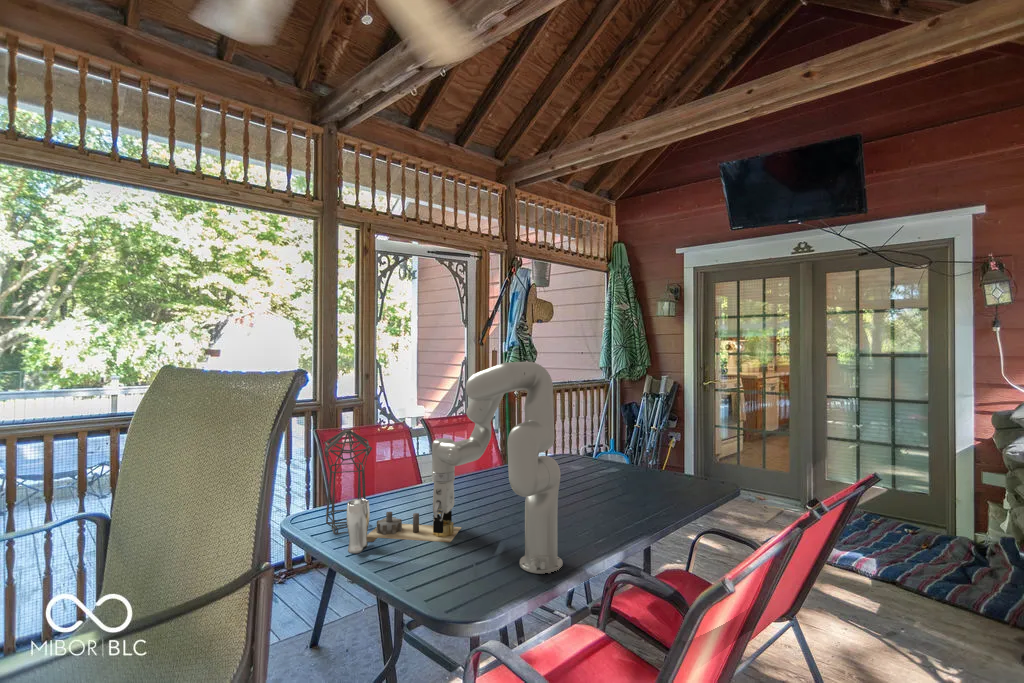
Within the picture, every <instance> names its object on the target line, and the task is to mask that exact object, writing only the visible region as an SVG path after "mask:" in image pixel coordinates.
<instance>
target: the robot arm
mask: <svg viewBox="0 0 1024 683" xmlns="http://www.w3.org/2000/svg"><path fill="white" fill-rule="evenodd" d="M553 385H554V384H553V379H552V376H551V375H550V372H549V371H548V370H547V369H546V368H545V367H543V366H542V365H541V364H539V363H536V362H534V361H514V362H511V361H509V362H503V363H499V364H496V365H494V366H491V367H489V368H486V369H485V368H484V369H483V370H479V371H478V372H475V373H473V374H472V375H471V376H469V378H468V379H467V381H466V383H465V392H466V396H468V398H469V399H470V400H471V401H470V402H469V404H468V407H467V409H466V411H465V412H466V417H467V418H468V419H469V420H470V421H471V422H473V423H474V428H473V430H472V431H471V434H470V436H469V438H467V439H462V440H458V441H454V440H453V438H452V439H451V438H447V437H445V438H444V437H441V438H435V439H434V440H433V441H432V444H431V445H432V446H431V451H432V452H431V454H432V456H431V482H432V483H433V493H432V512H433V515H432V517H433V519H432V520H433V522H432V526H433V532H434V533H443V520H451V522H453V521H452V520H453V519H452V517H453V514H452V512H453V508H454V506H455V484H454V482H455V474H456V472H455V470H456V469H455V468H456V467H458V466H462V465H465V464H469V463H472V462H475V461H478V460H479V459H480V458H481V457H482V456H483V455H484V453H485V452H486V449H487V447H488V446H489V444H490V441H491V438H492V424H491V423H492V420H493V418H494V416H495V414H496V411H497V409H498V407H499V406H500V404H501V401H502V399H503V397H504V395H505V394H506V393H512V392H517V391H518V392H519V391H527V394H526V397H525V401H524V405H523V407H524V408H523V409H524V422H520V423H518V424H516V425H514V426H513V428H512V429H511V430H510V432H509V434H508V436H507V437H508V438H507V470H508V480H509V484H510V487H511V489H512V491H513V492H514V493H515V494H516V495H517V496H519V497H521V498H522V497H523V498H525V500H524V555H523V556H522V557H520V559H519V566H520V568H521V569H522V570H524V571H525V572H528V573H531V574H537V575H539V574H540V575H543V574H544V575H546V574H545V573H548V574H552V573H551V572H554V571H556V572H558V571H560V570H561V569H562V568H563V567H562V566H564V563H563V559H562V558H560V557H559V556H558V511H559V510H558V508H559V507H558V504H559V503H558V502H559V490H560V485H561V484H560V483H561V469H560V465H559V464H558V462H557V461H556V460H555V459H554V458H553V457H551V456H549V455H539V454H541V453H544V452H546V451H548V450H550V449H551V448H553V445H554V442H555V418H554V386H553ZM561 567H562V568H561ZM560 568H561V569H560ZM559 569H560V570H559ZM557 570H558V571H557ZM554 573H555V572H554Z"/></svg>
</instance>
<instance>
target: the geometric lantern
mask: <svg viewBox="0 0 1024 683" xmlns="http://www.w3.org/2000/svg"><path fill="white" fill-rule="evenodd" d="M344 436H345V438H344V440H343V442H341V439H342V438H343V437H344ZM353 437H354V439H356V440H355V441H353ZM347 438H348V440H347ZM356 443H358V444H357V445H355V447H353V445H354V444H356ZM322 444H324V446H325V447H324V449H323V450H324V457H325V458H326V462H327V465H328V470H329V477H328V479H329V480H328V491H327V501H326V502H327V503H326V512H325V523H326V525H328V526H329V527H330V528H331V529H332V534H334V535H340V534H341V535H342V534H349V532H348V531H342V532H341V531H340V532H339V529H344V528H345V529H346V528H347V529H348V527H347V517H346V518H340V519H335V513H337V512H339V513H340V512H347V508H346V509H335V505H336V504H335V503H336V502H335V500H336V498H335V496H336V494H335V493H336V478H337V477H336V475H337V474H338V473H339V474H342V473H358V475H357V477H358V478H357V499H366V476H365V474H366V472H365V471H366V470H365V468H366V465H367V460H368V456H369V455H370V453H371V451H372V450H373V447H372V446H371V445H370V443H369V440H368V439H366V438H365V437H364V436H361V435H359V434H357V433H355V432H354V431H352V430H351V429H344V430H342V431H340V432H338V433H337V434H336V435H333V436H332V437H330V438H329V439H327V440H325V441H324V442H322ZM337 444H339V445H342V447H340V446H338V445H337ZM346 444H348V445H349V449H345V446H346ZM360 445H362V446H363V447H365V448H362V449H357V448H358V447H359V446H360ZM334 447H336V448H337V449H333V448H334ZM355 449H356V450H355ZM356 452H359V453H357V454H356ZM329 453H332V454H333V455H334V456H336V457H337V458H336V460H335V462H333V460H332V457H331V454H329ZM338 453H339V454H338ZM343 454H349V456H350V457H348V458H344V457H343ZM352 454H354V456H352ZM362 454H364V455H363V458H362V461H360V459H359V456H361V455H362ZM328 457H329V458H328ZM355 458H356V459H357V460H358V462H355V460H354V459H355ZM329 459H330V460H329ZM339 459H340V460H341V462H340V463H337V462H338V461H339ZM348 460H349V461H350V460H351V461H352V462H350V463H348V462H347V463H346V462H345V463H343V462H344V461H348ZM330 461H331V465H330ZM357 464H358V465H357ZM342 465H344V466H345V465H354V466H355V468H356V469H357V470H347V471H338V469H339V468H340V467H341V466H342ZM333 467H334V471H333ZM332 477H333V482H332ZM361 481H362V482H361ZM332 483H333V484H332ZM361 483H362V484H361ZM331 489H332V498H331ZM361 490H362V492H361ZM366 500H367V499H366ZM330 501H331V510H330ZM329 510H330V511H329ZM329 514H331V516H332V518H331V516H330V515H329ZM329 519H330V521H331V522H330V521H329Z"/></svg>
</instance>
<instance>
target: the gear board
mask: <svg viewBox="0 0 1024 683" xmlns="http://www.w3.org/2000/svg"><path fill="white" fill-rule="evenodd" d="M402 521H403V519H402V518H396V517H394V516H393V511H386V516H385V517H384V518H382V519H379V520H377V521H376V527H375V528H374V529H373V530H371V531H370V532H368V533H367V543H368V542H369V543H370V542H371V543H374V542H375V541H376V540H377V539H378V538H379V539H392V540H409V541H411V540H412V541H424V542H437V543H440V542H441V543H451V542H452V541H453V540H454V539H455V537H456V536H457V534H458V533H459V531H460V530H461V529H462V527H460V526H454V531H453V533H452V535H451V536H446V537H436V535H433V524H432V525H429V524H420V513H419V512H415V513H413V514H412V523H411V524H410V523H403V522H402Z"/></svg>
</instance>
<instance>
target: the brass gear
mask: <svg viewBox="0 0 1024 683" xmlns="http://www.w3.org/2000/svg"><path fill="white" fill-rule="evenodd" d="M454 527H455V526H454V521H452V522H451V520H443V533H434V532H433V535H436V537H446V536H451V535H452V533H453V531H454Z"/></svg>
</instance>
